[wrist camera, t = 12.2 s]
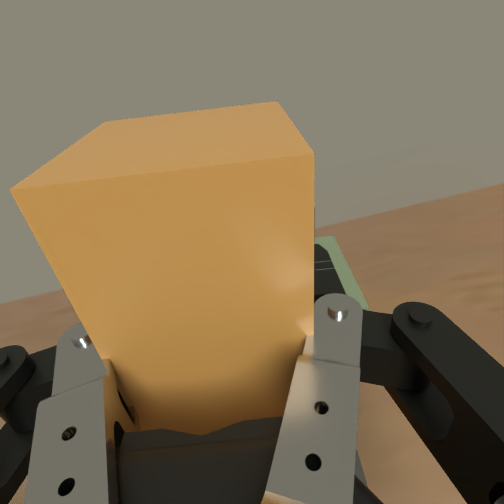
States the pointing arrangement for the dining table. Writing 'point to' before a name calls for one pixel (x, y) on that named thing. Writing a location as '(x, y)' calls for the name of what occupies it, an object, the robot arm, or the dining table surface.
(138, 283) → the tall orange pillar
